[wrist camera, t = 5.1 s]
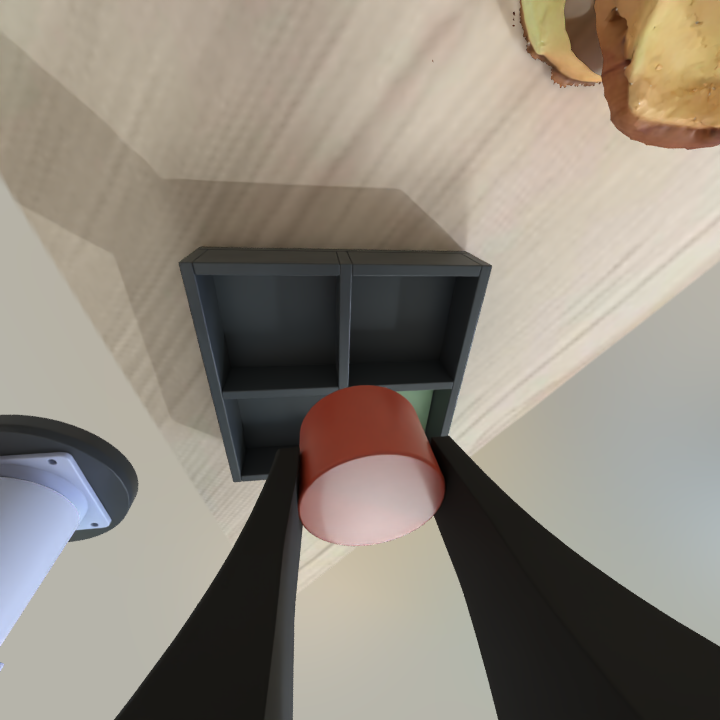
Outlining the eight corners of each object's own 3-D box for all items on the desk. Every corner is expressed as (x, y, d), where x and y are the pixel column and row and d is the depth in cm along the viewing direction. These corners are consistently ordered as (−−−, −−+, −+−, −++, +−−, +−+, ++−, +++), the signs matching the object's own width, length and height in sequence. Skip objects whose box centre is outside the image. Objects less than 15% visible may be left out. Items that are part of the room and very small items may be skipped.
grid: (241, 447, 21) (233, 482, 18) (198, 246, 14) (177, 262, 12) (427, 435, 22) (440, 465, 20) (466, 251, 16) (492, 265, 14)
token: (303, 476, 13) (301, 554, 10) (296, 387, 10) (291, 459, 8) (409, 467, 13) (434, 538, 11) (425, 380, 11) (460, 445, 8)
